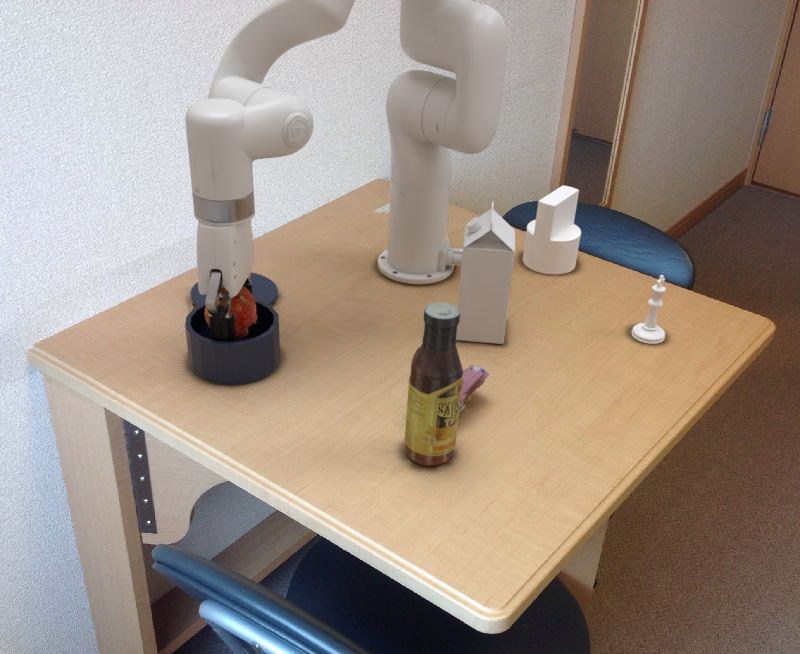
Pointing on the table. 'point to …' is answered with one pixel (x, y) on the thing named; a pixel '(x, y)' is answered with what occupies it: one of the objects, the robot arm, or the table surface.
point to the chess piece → (652, 318)
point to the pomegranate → (240, 311)
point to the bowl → (234, 349)
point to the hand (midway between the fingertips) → (233, 324)
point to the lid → (260, 289)
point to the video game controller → (471, 382)
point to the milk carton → (485, 278)
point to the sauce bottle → (434, 388)
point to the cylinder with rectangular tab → (553, 234)
